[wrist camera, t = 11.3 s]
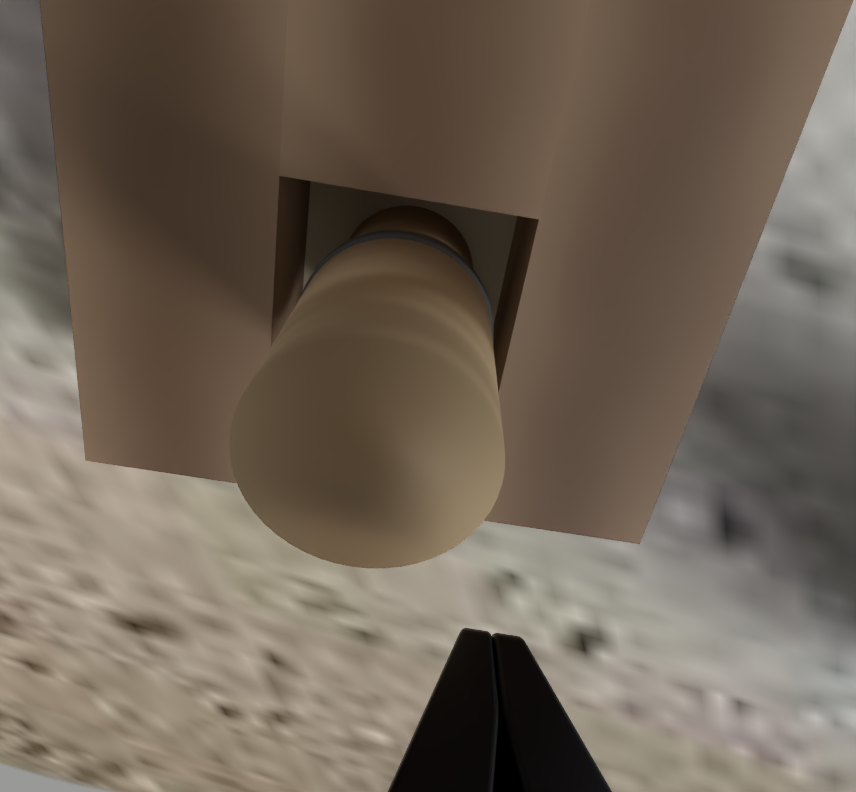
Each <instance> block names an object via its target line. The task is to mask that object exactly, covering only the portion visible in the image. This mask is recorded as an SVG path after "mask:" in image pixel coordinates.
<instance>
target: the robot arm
mask: <svg viewBox="0 0 856 792" xmlns="http://www.w3.org/2000/svg"><path fill="white" fill-rule="evenodd" d="M388 792H612V791H611V789H610V788H609V786H608V784H607V782H606V781H605V779H604V777H603V776H602V774H601V772H600V770H599V769H598V767H597V765H596V764H595V762H594V760H593V758H592V757H591V755H590V753H589V751H588V750H587V748H586V746H585V745H584V743H583V741H582V739H581V738H580V736H579V734H578V732H577V731H576V729H575V727H574V726H573V724H572V722H571V720H570V719H569V717H568V715H567V713H566V712H565V710H564V708H563V707H562V705H561V703H560V701H559V700H558V698H557V696H556V694H555V693H554V691H553V689H552V688H551V686H550V684H549V682H548V681H547V679H546V677H545V675H544V674H543V672H542V670H541V669H540V667H539V665H538V663H537V662H536V660H535V658H534V656H533V655H532V653H531V651H530V650H529V648H528V646H527V644H526V643H525V641H524V640H523V639H522V638H521V637H518V636H513V635H506V634H500V633H495V634H493V635H492V636H491V634H490V633H489V632H487V631H482V630H475V629H469V628H464V629H462V630H461V632H460V634H459V636H458V638H457V640H456V642H455V644H454V647H453V649H452V651H451V653H450V655H449V658H448V660H447V662H446V664H445V667H444V669H443V671H442V673H441V675H440V678H439V680H438V682H437V684H436V686H435V689H434V691H433V693H432V695H431V697H430V700H429V702H428V704H427V706H426V708H425V711H424V713H423V715H422V717H421V719H420V722H419V724H418V726H417V728H416V730H415V733H414V735H413V737H412V739H411V741H410V744H409V746H408V748H407V750H406V752H405V755H404V757H403V759H402V761H401V764H400V766H399V768H398V770H397V772H396V775H395V777H394V779H393V781H392V783H391V786H390V788H389V790H388Z"/></svg>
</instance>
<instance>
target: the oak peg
mask: <svg viewBox="0 0 856 792" xmlns="http://www.w3.org/2000/svg"><path fill="white" fill-rule="evenodd" d="M493 332H494V325H493V317H492V310H491V305H490V301H489V298H488V294H487V292H486V290H485V288H484V285H483V283H482V281H481V280H480V278H479V277H478V275H477V273H476V272H475V271H474V269H473V264H472V257H471V254H470V250H469V248H468V245H467V243H466V241H465V239H464V238H463V236H462V234H461V233H460V232H459V230H458V229H457V228H456V227H455V226H454V225H453V224H452V223H451V222H450V221H449V220H447V219H446V218H444V217H443V216H442V215H440V214H438V213H436V212H434V211H431V210H429V209H426V208H422V207H418V206H396V207H390V208H387V209H384V210H381V211H379V212H377V213H375V214H373V215H372V216H370V217H369V218H367V219H366V220H365V221H364V222H362V223H361V224H360V225H359V227H358V228H357V229H356V230H355V231H354V233H353V235H352V236H351V238H350V240H349V241H347V242H345V243H343V244H342V245H340V246H339V247H337V248H335V249H334V250H333V251H332V252H331V253H329V254H328V255H327V256H326V257H325V258H324V259H323V260H322V261H321V262H320V263H319V265H318V266H317V267H316V269H315V270H314V272H313V273H312V275H311V276H310V278H309V279H308V281H307V283H306V285H305V287H304V289H303V291H302V293H301V296H300V299H299V301H298V303H297V304H296V306H295V308H294V309H293V311H292V313H291V314H290V316H289V318H288V320H287V321H286V323H285V325H284V326H283V328H282V330H281V331H280V333H279V335H278V336H277V338H276V340H275V341H274V343H273V345H272V346H271V348H270V350H269V351H268V353H267V355H266V356H265V358H264V360H263V361H262V363H261V365H260V366H259V368H258V370H257V371H256V373H255V375H254V376H253V378H252V380H251V381H250V383H249V385H248V386H247V388H246V390H245V391H244V393H243V395H242V396H241V398H240V401H239V403H238V405H237V407H236V410H235V412H234V416H233V419H232V423H231V427H230V437H229V450H230V460H231V465H232V470H233V473H234V476H235V479H236V481H237V484H238V487H239V489H240V490H241V492H242V494H243V496H244V498H245V500H246V501H247V503H248V504H249V506H250V507H251V508H252V510H253V511H254V513H255V514H256V515H257V516H258V517H259V518H260V519H261V520H262V521H263V523H264V524H265V525H266V526H268V527H269V528H270V529H271V530H272V531H273V532H274V533H276V534H277V535H278V536H279V537H281V538H282V539H284V540H285V541H287V542H288V543H290V544H291V545H293V546H295V547H297V548H298V549H300V550H302V551H304V552H306V553H308V554H311V555H313V556H316V557H318V558H320V559H324V560H327V561H330V562H333V563H337V564H342V565H347V566H352V567H362V568H391V567H401V566H406V565H411V564H415V563H419V562H422V561H425V560H428V559H431V558H434V557H436V556H438V555H440V554H442V553H445V552H447V551H448V550H450V549H452V548H453V547H455V546H456V545H458V544H460V543H461V542H462V541H463V540H465V539H466V538H467V537H468V536H470V535H471V534H472V533H473V532H474V531H475V530H476V529H477V528H478V527H479V526H480V525H481V524H482V522H483V521H484V520H485V518H486V517H487V516H488V514H489V513H490V511H491V510H492V508H493V506H494V504H495V502H496V500H497V498H498V495H499V492H500V489H501V486H502V483H503V477H504V471H505V448H504V439H503V430H502V421H501V411H500V402H499V393H498V384H497V375H496V366H495V357H494V348H493Z"/></svg>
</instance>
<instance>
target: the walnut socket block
mask: <svg viewBox="0 0 856 792" xmlns="http://www.w3.org/2000/svg"><path fill="white" fill-rule="evenodd" d="M852 2H853V0H40V8H41V18H42V28H43V38H44V48H45V58H46V68H47V78H48V88H49V98H50V108H51V118H52V128H53V138H54V148H55V158H56V168H57V178H58V188H59V198H60V208H61V218H62V228H63V238H64V248H65V258H66V268H67V278H68V289H69V299H70V309H71V319H72V329H73V339H74V349H75V359H76V369H77V379H78V389H79V399H80V409H81V419H82V429H83V439H84V449H85V459H86V461H92V462H99V463H105V464H112V465H119V466H125V467H132V468H139V469H145V470H152V471H159V472H165V473H172V474H179V475H185V476H192V477H198V478H205V479H212V480H218V481H225V482H232V483H237V481H236V479H235V476H234V473H233V470H232V465H231V460H230V450H229V437H230V427H231V423H232V419H233V416H234V412H235V410H236V407H237V405H238V403H239V401H240V398H241V396H242V395H243V393H244V391H245V390H246V388H247V386H248V385H249V383H250V381H251V380H252V378H253V376H254V375H255V373H256V371H257V370H258V368H259V366H260V365H261V363H262V361H263V360H264V358H265V356H266V355H267V353H268V351H269V350H270V348H271V346H272V345H273V343H274V341H275V340H276V338H277V336H278V335H279V333H280V331H281V330H282V328H283V326H284V325H285V323H286V321H287V320H288V318H289V316H290V314H291V313H292V311H293V309H294V308H295V306H296V304H297V303H298V301H299V299H300V296H301V293H302V291H303V289H304V287H305V285H306V283H307V281H308V279H309V278H310V276H311V275H312V273H313V272H314V270H315V269H316V267H317V266H318V265H319V263H320V262H321V261H322V260H323V259H324V258H325V257H326V256H327V255H328V254H329V253H331V252H332V251H333V250H334V249H335V248H337V247H339V246H340V245H342V244H343V243H345V242H347V241H349V240H350V238H351V236H352V235H353V233H354V231H355V230H356V229H357V228H358V227H359V225H360V224H361V223H362V222H364V221H365V220H366V219H367V218H369V217H370V216H372V215H373V214H375V213H377V212H379V211H381V210H384V209H387V208H390V207H396V206H418V207H422V208H426V209H429V210H431V211H434V212H436V213H438V214H440V215H442V216H443V217H444V218H446V219H447V220H449V221H450V222H451V223H452V224H453V225H454V226H455V227H456V228H457V229H458V230H459V232H460V233H461V234H462V236H463V238H464V239H465V241H466V243H467V245H468V248H469V250H470V254H471V257H472V264H473V269H474V271H475V272H476V273H477V275H478V277H479V278H480V280H481V281H482V283H483V285H484V288H485V290H486V292H487V294H488V298H489V301H490V305H491V310H492V317H493V325H494V332H493V348H494V357H495V366H496V375H497V384H498V393H499V402H500V411H501V421H502V430H503V439H504V448H505V471H504V477H503V483H502V486H501V489H500V492H499V495H498V498H497V500H496V502H495V504H494V506H493V508H492V510H491V511H490V513H489V514H488V516H487V517H486V518H485V520H484V521H490V522H497V523H504V524H510V525H517V526H524V527H530V528H537V529H544V530H550V531H557V532H563V533H570V534H577V535H583V536H590V537H597V538H603V539H610V540H617V541H623V542H630V543H636V544H640V542H641V539H642V537H643V534H644V531H645V529H646V526H647V524H648V521H649V519H650V516H651V514H652V511H653V509H654V506H655V503H656V501H657V498H658V496H659V493H660V491H661V488H662V486H663V483H664V481H665V478H666V475H667V473H668V470H669V468H670V465H671V463H672V460H673V458H674V455H675V453H676V450H677V447H678V445H679V442H680V440H681V437H682V435H683V432H684V430H685V427H686V425H687V422H688V420H689V417H690V414H691V412H692V409H693V407H694V404H695V402H696V399H697V397H698V394H699V392H700V389H701V386H702V384H703V381H704V379H705V376H706V374H707V371H708V369H709V366H710V364H711V361H712V358H713V356H714V353H715V351H716V348H717V346H718V343H719V341H720V338H721V336H722V333H723V330H724V328H725V325H726V323H727V320H728V318H729V315H730V313H731V310H732V308H733V305H734V303H735V300H736V297H737V295H738V292H739V290H740V287H741V285H742V282H743V280H744V277H745V275H746V272H747V269H748V267H749V264H750V262H751V259H752V257H753V254H754V252H755V249H756V247H757V244H758V241H759V239H760V236H761V234H762V231H763V229H764V226H765V224H766V221H767V219H768V216H769V213H770V211H771V208H772V206H773V203H774V201H775V198H776V196H777V193H778V191H779V188H780V186H781V183H782V180H783V178H784V175H785V173H786V170H787V168H788V165H789V163H790V160H791V158H792V155H793V152H794V150H795V147H796V145H797V142H798V140H799V137H800V135H801V132H802V130H803V127H804V124H805V122H806V119H807V117H808V114H809V112H810V109H811V107H812V104H813V102H814V99H815V97H816V94H817V91H818V89H819V86H820V84H821V81H822V79H823V76H824V74H825V71H826V69H827V66H828V63H829V61H830V58H831V56H832V53H833V51H834V48H835V46H836V43H837V41H838V38H839V35H840V33H841V30H842V28H843V25H844V23H845V20H846V18H847V15H848V13H849V10H850V7H851V5H852Z"/></svg>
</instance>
